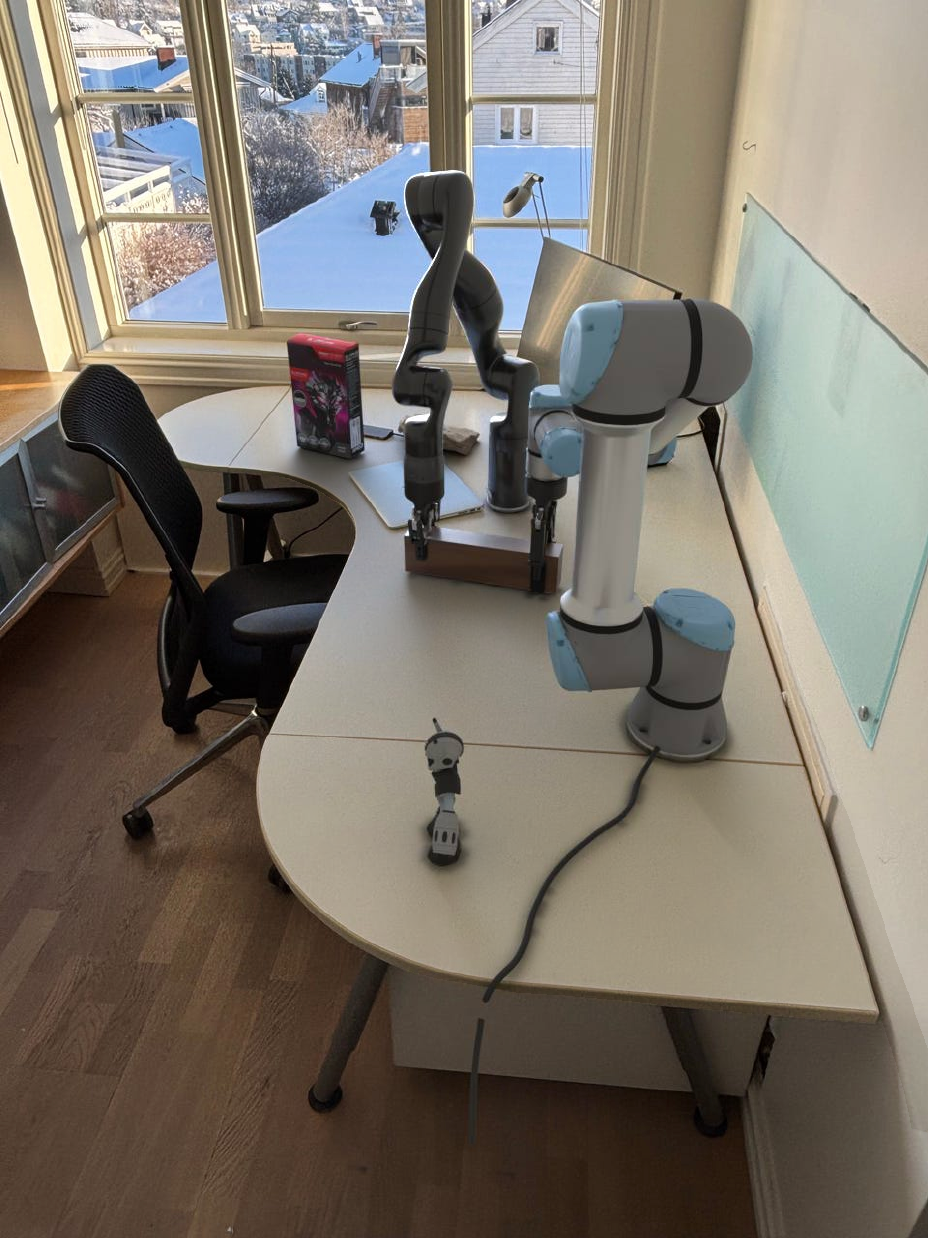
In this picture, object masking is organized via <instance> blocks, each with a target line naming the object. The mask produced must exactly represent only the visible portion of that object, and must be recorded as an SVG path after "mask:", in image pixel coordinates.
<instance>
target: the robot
mask: <svg viewBox="0 0 928 1238" xmlns="http://www.w3.org/2000/svg"><path fill="white" fill-rule="evenodd" d="M432 723H433V725H434V728H435V731H436V733H434V734H432V735H431V736H430V737H429V738H428V739H426V742H425V745H424V747H423V749H424V752H425V753H424V755H425V757H426V758H427V769H428V770H429V771H430V772H431V776H432V779H433V780H434V782H435V783H434V797H435V798H436V800H437V803H438V805H439V806H438V808H437V810H436V811H435V814H434V817H433V819H432V820H431V821H430V822H429V823H428V825H427V827H426V830H427V833H428V835H429V837H430V838H432V841H431V846H430V847H429V850H428V852H427V858H428V860H430V861H431V862H432V864H434V865H437V866H441V867H442V866H448V865H450V864H453V863H455V862H457V861H459V860H460V856H461V854H462V846H461V841H460V837H459V836H460V833H461V830H460V820H459V815H458V813H456V811H455V807H454V805H455V803H456V795H457V796H459V795H462V782H461V781H462V780H461V776H460V774H459V769H458V768H459V767H458V765H459V764H460V758H462V755H463V754H464V749H465V746H464V745H465V744H464V741H463V739H462V738H461V737H460V736H459V734H457V733H455V732H453V731H451V730H443V729H442V727H441V725H440V723H439V721H438V720H437V718H436V717H433V718H432Z"/></svg>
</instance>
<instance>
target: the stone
mask: <svg viewBox="0 0 928 1238" xmlns="http://www.w3.org/2000/svg"><path fill="white" fill-rule="evenodd" d="M420 415H422V414H419V413H415V414H413V415H405V416H404V417H403V419H401V420H400V421H399V423H398V428H397V431H398V433H400V434H401V433H404V424H405V422H406V421H407V420H408V419H409V418H411V417H415V416H420ZM480 435H481V434H480V433H479V432H478V431H476V430H473V429H469V428H467V427H458V426H454V425H453V426H452V425H446V424H443V450H447V451H453V452H454V451H455V452H456V453H457V452H458V453H459V454H463V455H468V454H469V453H470V451H471V449H472V446H473V445H474V444H475V443H476V442H477V441H478V438H479V437H480Z"/></svg>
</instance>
